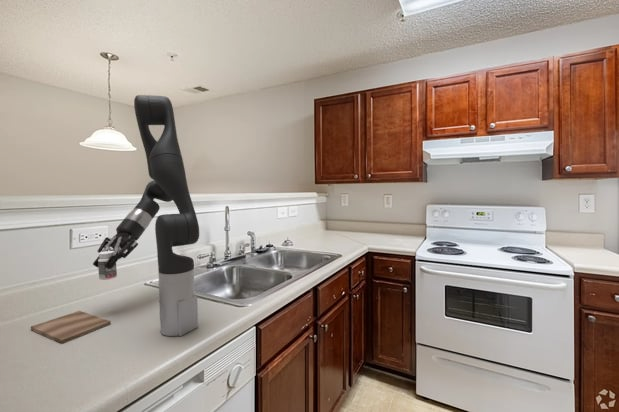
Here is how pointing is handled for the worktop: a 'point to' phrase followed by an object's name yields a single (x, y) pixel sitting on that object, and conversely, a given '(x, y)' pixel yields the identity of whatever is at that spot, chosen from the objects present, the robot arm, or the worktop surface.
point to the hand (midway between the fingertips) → (101, 266)
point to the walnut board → (70, 326)
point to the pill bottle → (103, 271)
